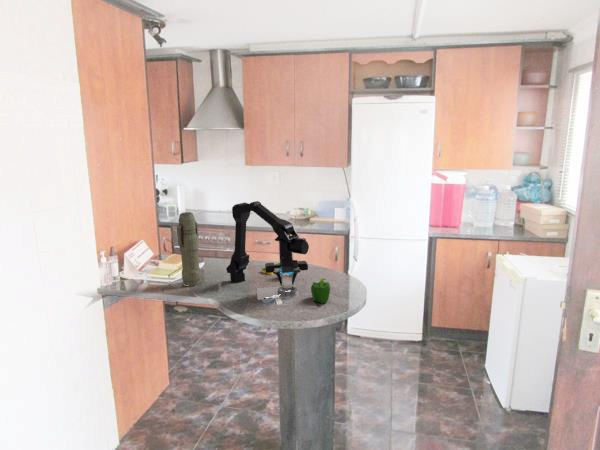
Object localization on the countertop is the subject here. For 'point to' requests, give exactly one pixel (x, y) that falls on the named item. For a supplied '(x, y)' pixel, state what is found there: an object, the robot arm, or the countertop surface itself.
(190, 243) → the thermos
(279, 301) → the countertop surface
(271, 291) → the hub plate
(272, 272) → the dish sponge
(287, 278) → the knob
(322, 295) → the bell pepper
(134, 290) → the countertop surface
